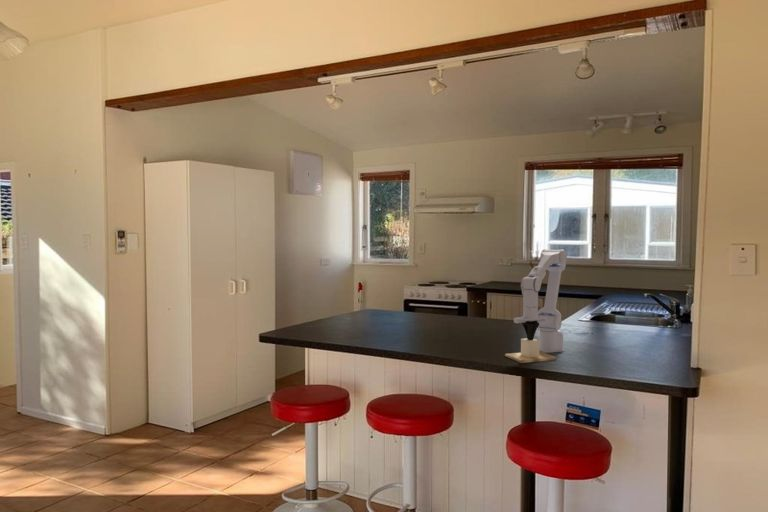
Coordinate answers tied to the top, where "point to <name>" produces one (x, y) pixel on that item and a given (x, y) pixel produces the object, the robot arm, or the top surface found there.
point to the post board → (524, 359)
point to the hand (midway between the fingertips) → (530, 339)
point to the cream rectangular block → (530, 347)
